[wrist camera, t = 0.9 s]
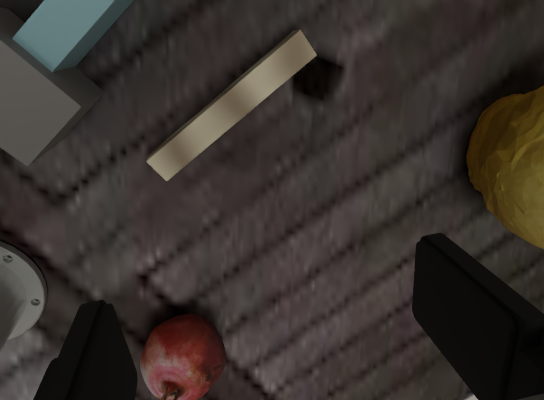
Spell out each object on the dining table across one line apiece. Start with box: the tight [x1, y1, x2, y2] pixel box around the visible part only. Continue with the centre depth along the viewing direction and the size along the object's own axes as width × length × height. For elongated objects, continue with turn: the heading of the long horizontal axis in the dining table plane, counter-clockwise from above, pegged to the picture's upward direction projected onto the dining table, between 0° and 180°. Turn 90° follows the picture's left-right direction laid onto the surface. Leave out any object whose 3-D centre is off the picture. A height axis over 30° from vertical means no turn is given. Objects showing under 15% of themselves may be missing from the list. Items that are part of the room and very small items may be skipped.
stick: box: [146, 30, 316, 181], centre depth 35 cm, size 18×3×3 cm, turn 127°
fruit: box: [140, 314, 226, 400], centre depth 41 cm, size 9×10×10 cm
